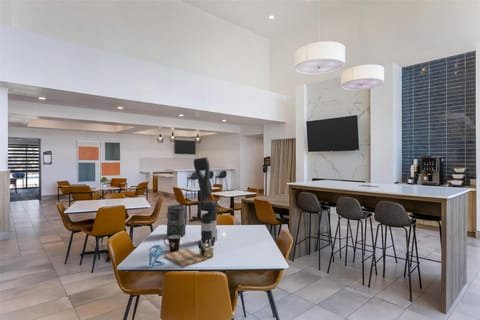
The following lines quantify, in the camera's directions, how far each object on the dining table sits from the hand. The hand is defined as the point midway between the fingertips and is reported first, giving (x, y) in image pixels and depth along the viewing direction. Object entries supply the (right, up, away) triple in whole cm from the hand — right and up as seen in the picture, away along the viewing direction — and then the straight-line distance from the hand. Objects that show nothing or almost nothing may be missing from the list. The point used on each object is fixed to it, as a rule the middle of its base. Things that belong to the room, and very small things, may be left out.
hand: (206, 253), depth 187 cm
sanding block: (0, -2, 0) cm, 2 cm away
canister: (-33, -1, +49) cm, 59 cm away
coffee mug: (-26, -2, +11) cm, 28 cm away
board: (-14, -2, -5) cm, 14 cm away
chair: (-30, -2, -17) cm, 34 cm away
